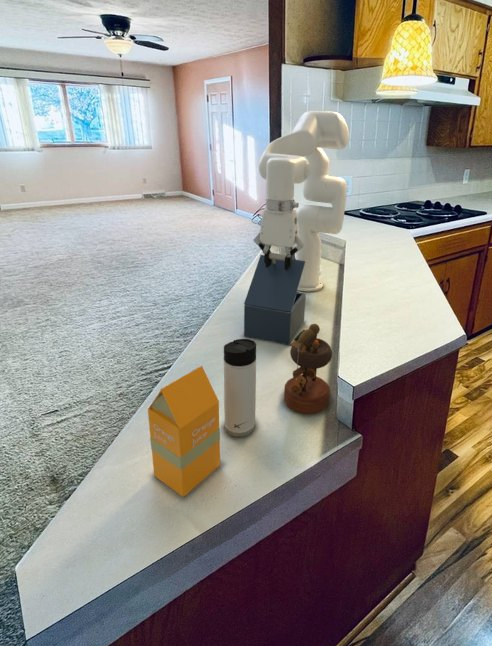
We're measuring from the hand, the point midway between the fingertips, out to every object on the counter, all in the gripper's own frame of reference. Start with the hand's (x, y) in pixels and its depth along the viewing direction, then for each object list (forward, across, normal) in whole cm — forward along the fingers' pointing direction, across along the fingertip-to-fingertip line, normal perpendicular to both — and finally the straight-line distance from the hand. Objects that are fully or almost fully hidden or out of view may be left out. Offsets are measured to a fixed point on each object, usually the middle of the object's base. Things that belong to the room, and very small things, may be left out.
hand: (277, 266), depth 119 cm
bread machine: (+20, 0, +1) cm, 20 cm away
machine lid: (+5, 0, +2) cm, 5 cm away
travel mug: (+19, -8, +45) cm, 49 cm away
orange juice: (+19, -3, +58) cm, 61 cm away
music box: (+20, -18, +30) cm, 40 cm away
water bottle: (+21, +5, -27) cm, 34 cm away
